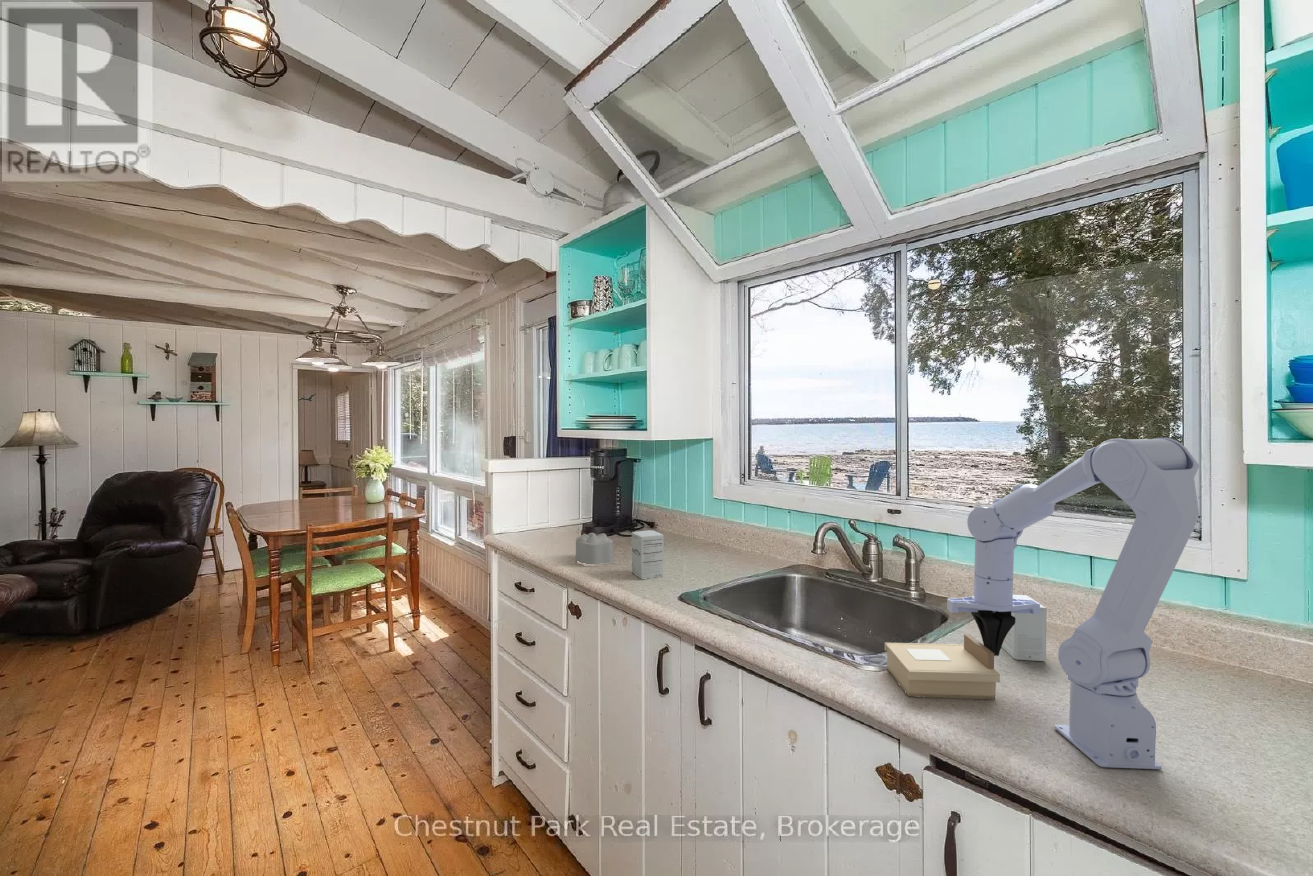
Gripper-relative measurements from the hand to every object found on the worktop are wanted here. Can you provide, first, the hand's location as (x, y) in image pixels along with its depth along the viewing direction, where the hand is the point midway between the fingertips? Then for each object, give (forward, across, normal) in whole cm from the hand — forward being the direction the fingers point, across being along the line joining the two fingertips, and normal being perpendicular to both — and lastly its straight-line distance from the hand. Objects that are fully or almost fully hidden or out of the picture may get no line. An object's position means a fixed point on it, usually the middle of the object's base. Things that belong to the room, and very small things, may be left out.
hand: (991, 653), depth 95 cm
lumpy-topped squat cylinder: (+6, +84, -76) cm, 114 cm away
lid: (+2, +9, 0) cm, 9 cm away
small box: (+6, -13, -14) cm, 20 cm away
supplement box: (+6, +65, -62) cm, 90 cm away
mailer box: (+6, +9, 0) cm, 11 cm away
